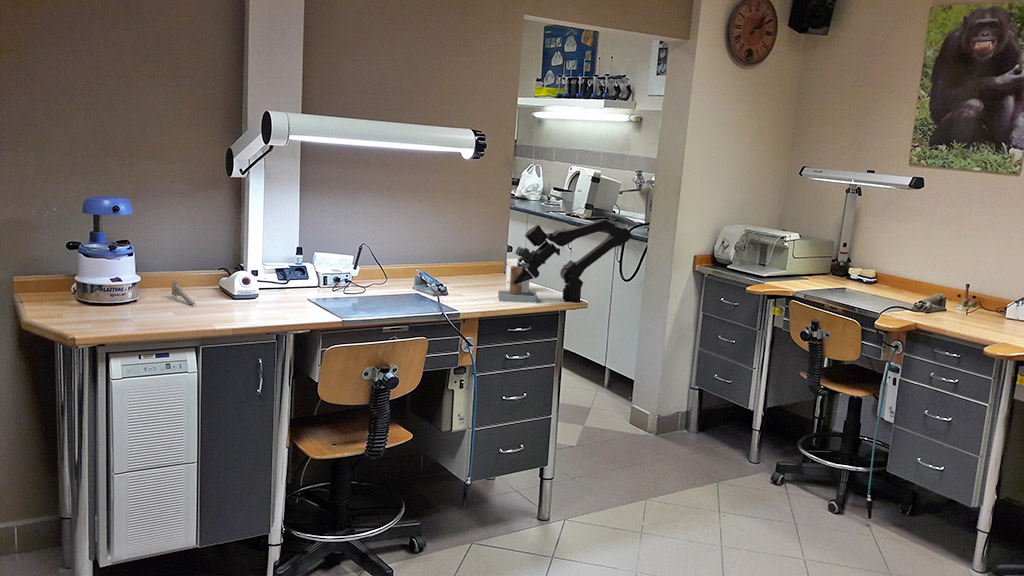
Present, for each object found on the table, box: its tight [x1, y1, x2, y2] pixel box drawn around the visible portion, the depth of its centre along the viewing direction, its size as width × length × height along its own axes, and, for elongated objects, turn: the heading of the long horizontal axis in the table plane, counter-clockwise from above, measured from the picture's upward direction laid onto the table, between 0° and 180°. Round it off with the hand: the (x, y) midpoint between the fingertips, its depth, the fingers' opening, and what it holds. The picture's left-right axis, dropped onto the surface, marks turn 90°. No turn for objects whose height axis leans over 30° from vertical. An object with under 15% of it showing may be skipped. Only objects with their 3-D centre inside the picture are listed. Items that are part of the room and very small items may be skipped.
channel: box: [497, 289, 539, 303], centre depth 328 cm, size 15×10×2 cm, turn 93°
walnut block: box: [508, 266, 522, 295], centre depth 327 cm, size 4×4×13 cm
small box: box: [505, 257, 531, 292], centre depth 347 cm, size 8×6×13 cm
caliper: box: [171, 279, 196, 306], centre depth 291 cm, size 20×1×6 cm, turn 42°
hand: (512, 281), depth 327 cm, fingers open, 7 cm apart
